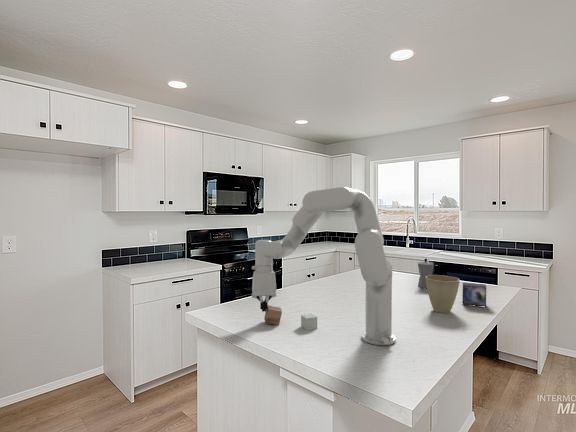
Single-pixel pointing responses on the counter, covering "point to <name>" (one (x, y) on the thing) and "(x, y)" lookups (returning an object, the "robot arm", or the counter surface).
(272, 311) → the walnut block
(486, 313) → the counter surface
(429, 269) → the coffeepot
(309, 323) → the sage block
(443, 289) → the plant pot
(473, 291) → the picture frame
